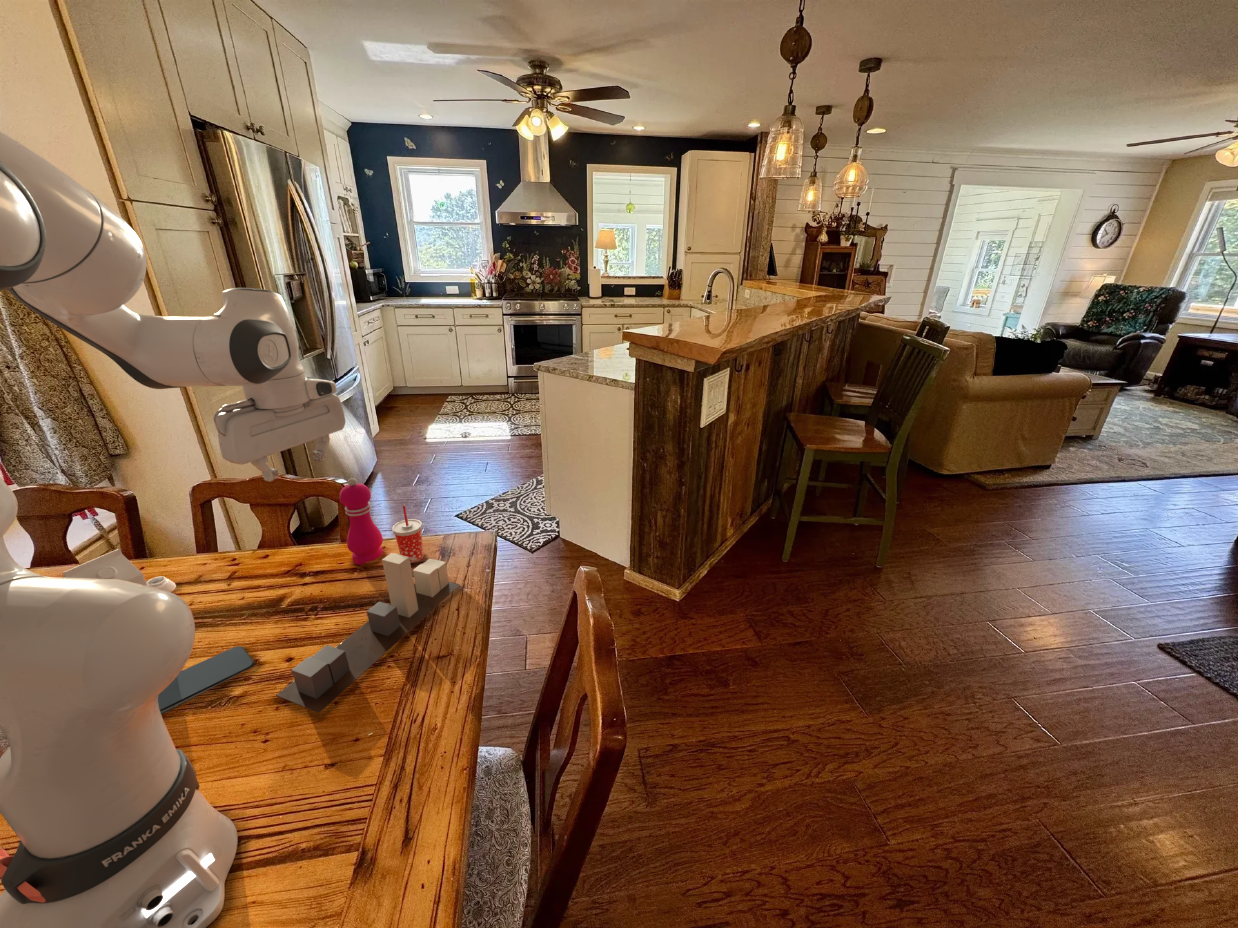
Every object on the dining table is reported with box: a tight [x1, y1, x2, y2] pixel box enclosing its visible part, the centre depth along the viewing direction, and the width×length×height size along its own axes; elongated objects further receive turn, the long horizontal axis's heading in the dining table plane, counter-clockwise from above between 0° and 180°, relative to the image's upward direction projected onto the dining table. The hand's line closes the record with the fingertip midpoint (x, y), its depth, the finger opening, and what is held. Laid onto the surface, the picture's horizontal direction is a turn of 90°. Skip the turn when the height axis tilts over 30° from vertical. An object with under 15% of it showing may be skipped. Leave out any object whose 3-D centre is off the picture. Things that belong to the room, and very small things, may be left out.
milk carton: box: [62, 548, 148, 586], centre depth 81 cm, size 7×7×19 cm
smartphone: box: [158, 645, 255, 715], centre depth 78 cm, size 8×2×15 cm
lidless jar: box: [146, 575, 177, 593], centre depth 99 cm, size 5×3×5 cm
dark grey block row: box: [290, 601, 400, 699], centre depth 83 cm, size 18×4×4 cm, turn 160°
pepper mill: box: [339, 477, 384, 566], centre depth 108 cm, size 7×7×20 cm
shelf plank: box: [276, 581, 461, 714], centre depth 89 cm, size 34×9×1 cm, turn 160°
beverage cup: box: [391, 504, 425, 563], centre depth 109 cm, size 6×6×14 cm
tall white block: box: [381, 552, 418, 618], centre depth 92 cm, size 2×4×12 cm, turn 70°
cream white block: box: [412, 558, 450, 597], centre depth 100 cm, size 5×4×6 cm
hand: (297, 469), depth 86 cm, fingers open, 8 cm apart
